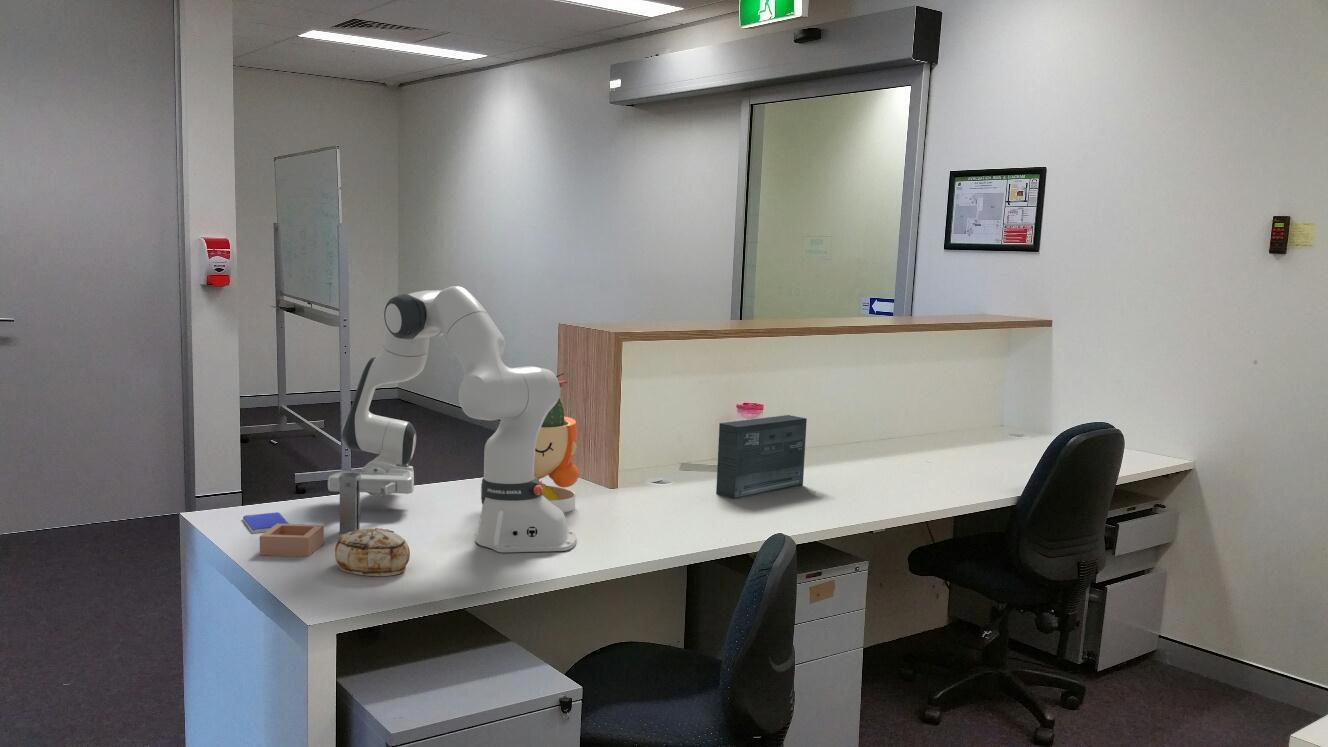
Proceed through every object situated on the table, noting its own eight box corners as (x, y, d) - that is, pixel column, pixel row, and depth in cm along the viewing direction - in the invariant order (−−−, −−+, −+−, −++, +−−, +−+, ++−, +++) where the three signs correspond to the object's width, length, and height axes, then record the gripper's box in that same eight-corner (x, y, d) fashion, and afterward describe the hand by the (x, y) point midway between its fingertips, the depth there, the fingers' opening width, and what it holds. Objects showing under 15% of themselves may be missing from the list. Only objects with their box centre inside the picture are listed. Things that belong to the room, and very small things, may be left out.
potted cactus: (562, 517, 245) (566, 376, 241) (479, 508, 251) (482, 370, 246) (591, 498, 266) (595, 367, 262) (514, 489, 271) (517, 362, 267)
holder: (323, 542, 216) (323, 524, 216) (308, 556, 206) (308, 537, 206) (277, 541, 216) (277, 523, 215) (259, 555, 206) (259, 536, 206)
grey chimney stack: (360, 530, 227) (360, 473, 226) (355, 534, 223) (356, 476, 222) (343, 529, 227) (343, 472, 226) (338, 534, 223) (338, 476, 222)
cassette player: (784, 481, 296) (788, 415, 294) (802, 486, 291) (806, 418, 289) (716, 494, 276) (719, 423, 274) (734, 499, 271) (738, 426, 269)
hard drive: (242, 515, 232) (252, 528, 221) (279, 511, 236) (291, 524, 226) (242, 522, 232) (252, 535, 221) (279, 518, 236) (291, 531, 226)
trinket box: (407, 578, 195) (407, 539, 194) (327, 579, 193) (327, 540, 192) (413, 558, 209) (413, 521, 208) (338, 558, 206) (339, 521, 205)
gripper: (336, 463, 248) (319, 475, 234) (419, 466, 249) (406, 478, 235) (336, 488, 249) (319, 501, 235) (419, 491, 249) (406, 504, 236)
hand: (363, 490), depth 235 cm, fingers open, 8 cm apart
